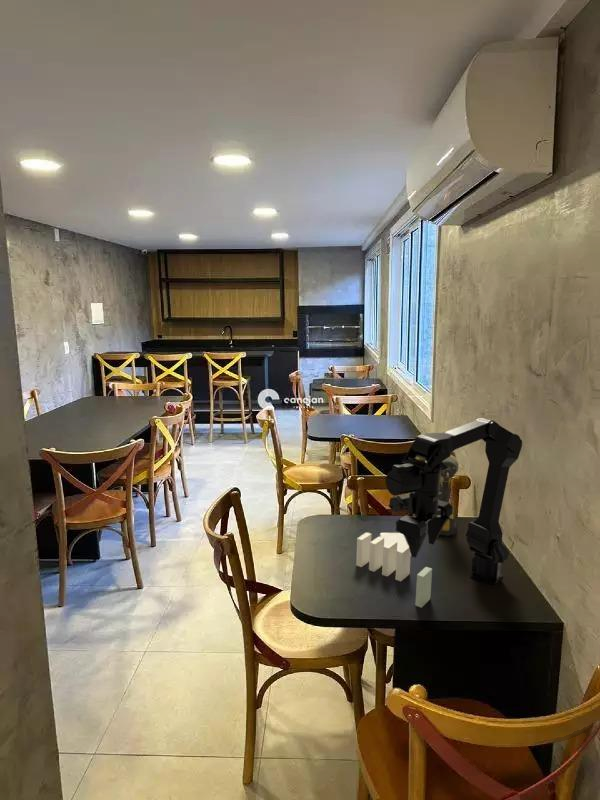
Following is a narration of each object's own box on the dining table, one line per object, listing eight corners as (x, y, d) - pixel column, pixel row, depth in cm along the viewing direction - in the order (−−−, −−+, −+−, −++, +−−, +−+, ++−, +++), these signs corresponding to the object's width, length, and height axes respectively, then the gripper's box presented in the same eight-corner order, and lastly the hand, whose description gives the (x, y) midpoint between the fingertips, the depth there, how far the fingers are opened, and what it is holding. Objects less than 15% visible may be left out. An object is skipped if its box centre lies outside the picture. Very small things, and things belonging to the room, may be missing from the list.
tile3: (396, 569, 145) (397, 541, 144) (387, 576, 141) (388, 548, 140) (390, 567, 146) (392, 540, 145) (381, 574, 142) (383, 546, 141)
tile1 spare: (430, 598, 131) (432, 568, 129) (421, 607, 127) (423, 576, 125) (424, 596, 132) (426, 566, 130) (415, 605, 128) (417, 574, 126)
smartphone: (387, 555, 152) (379, 532, 167) (386, 557, 153) (379, 534, 167) (412, 555, 152) (402, 532, 167) (412, 558, 153) (402, 535, 167)
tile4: (383, 564, 147) (384, 537, 146) (374, 571, 144) (375, 544, 142) (378, 563, 148) (379, 536, 147) (368, 570, 144) (369, 542, 143)
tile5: (370, 560, 150) (371, 533, 148) (361, 567, 146) (362, 539, 144) (365, 558, 151) (366, 532, 149) (356, 565, 147) (357, 538, 145)
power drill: (459, 546, 159) (464, 466, 155) (428, 543, 161) (432, 463, 156) (453, 520, 179) (458, 448, 174) (426, 517, 180) (430, 446, 176)
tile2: (409, 573, 143) (411, 546, 141) (400, 581, 139) (402, 552, 137) (404, 572, 144) (405, 544, 142) (395, 579, 140) (396, 551, 138)
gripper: (414, 472, 138) (410, 529, 141) (376, 490, 123) (373, 553, 126) (455, 481, 131) (451, 541, 134) (420, 502, 117) (416, 568, 119)
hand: (422, 550), depth 128 cm, fingers open, 9 cm apart
